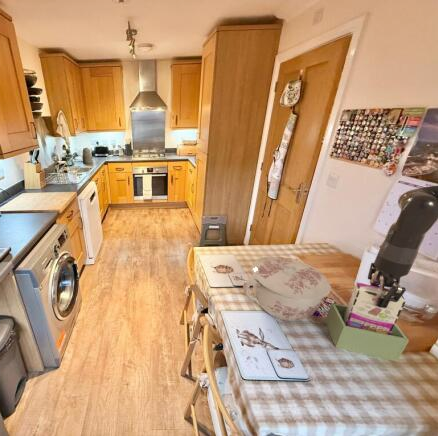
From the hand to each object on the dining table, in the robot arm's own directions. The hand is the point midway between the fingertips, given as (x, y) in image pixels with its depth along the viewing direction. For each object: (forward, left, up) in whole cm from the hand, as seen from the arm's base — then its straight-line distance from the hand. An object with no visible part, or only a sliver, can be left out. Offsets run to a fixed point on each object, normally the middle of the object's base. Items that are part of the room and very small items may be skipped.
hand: (376, 300), depth 75 cm
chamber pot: (+24, -10, -19) cm, 32 cm away
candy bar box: (0, 0, -13) cm, 13 cm away
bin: (0, 0, -19) cm, 19 cm away
